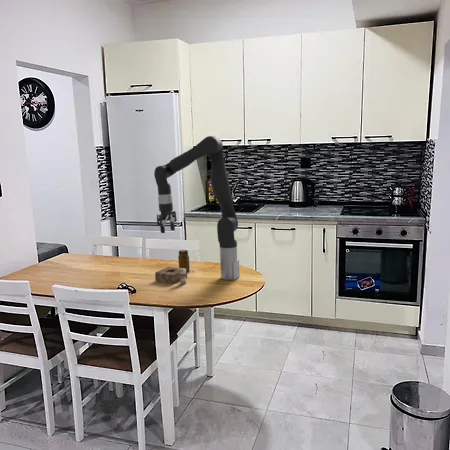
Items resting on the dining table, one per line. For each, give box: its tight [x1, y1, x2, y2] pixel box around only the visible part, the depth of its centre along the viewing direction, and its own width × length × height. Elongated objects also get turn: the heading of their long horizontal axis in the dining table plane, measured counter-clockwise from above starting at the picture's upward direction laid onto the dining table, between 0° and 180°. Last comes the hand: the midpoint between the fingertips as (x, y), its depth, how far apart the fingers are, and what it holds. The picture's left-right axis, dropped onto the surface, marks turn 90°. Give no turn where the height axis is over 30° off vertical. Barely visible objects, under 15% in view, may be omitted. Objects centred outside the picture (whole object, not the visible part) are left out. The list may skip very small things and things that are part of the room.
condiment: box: [177, 249, 195, 274], centre depth 243 cm, size 7×8×12 cm
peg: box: [179, 268, 187, 286], centre depth 222 cm, size 4×4×8 cm
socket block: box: [154, 266, 188, 285], centre depth 230 cm, size 12×12×5 cm
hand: (167, 231), depth 237 cm, fingers open, 8 cm apart
